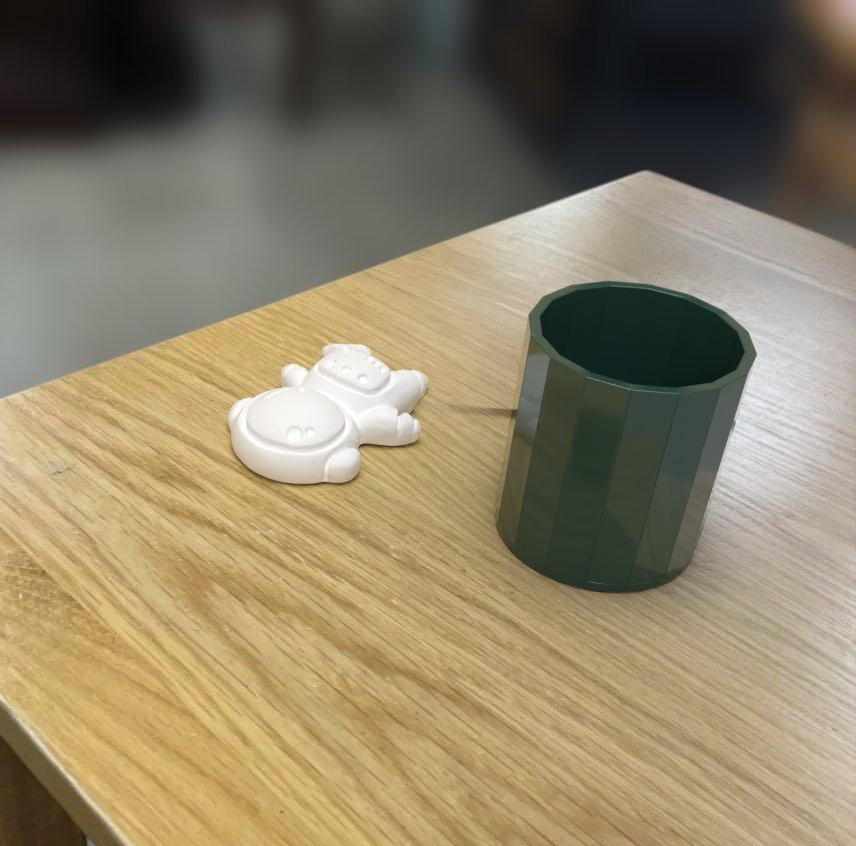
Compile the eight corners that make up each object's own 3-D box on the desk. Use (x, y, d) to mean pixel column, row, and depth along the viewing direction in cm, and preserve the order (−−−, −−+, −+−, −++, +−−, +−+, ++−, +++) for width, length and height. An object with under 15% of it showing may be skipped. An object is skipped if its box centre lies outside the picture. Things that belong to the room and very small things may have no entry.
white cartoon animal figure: (465, 416, 65) (472, 367, 63) (306, 508, 58) (309, 456, 57) (346, 353, 70) (350, 305, 68) (186, 431, 63) (185, 380, 61)
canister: (679, 478, 62) (732, 290, 55) (710, 601, 55) (776, 401, 48) (492, 462, 62) (524, 273, 56) (498, 583, 55) (535, 382, 48)
